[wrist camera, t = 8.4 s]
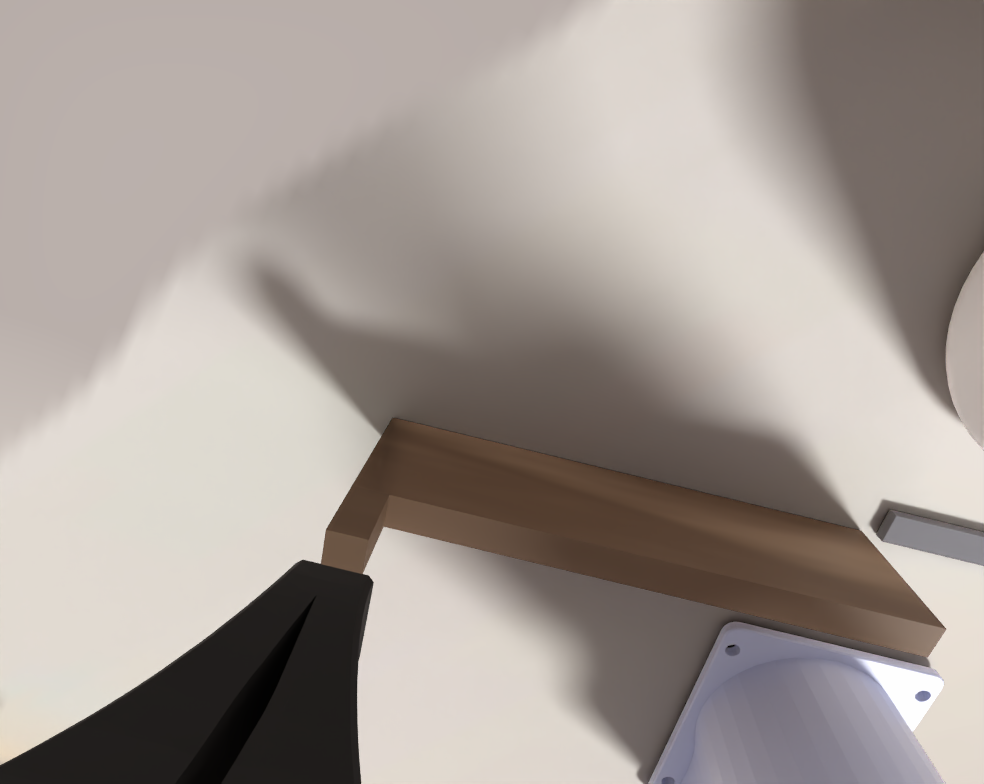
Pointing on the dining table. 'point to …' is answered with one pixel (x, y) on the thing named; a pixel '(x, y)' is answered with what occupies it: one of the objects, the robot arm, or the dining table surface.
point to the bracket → (933, 537)
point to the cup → (968, 353)
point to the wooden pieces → (627, 535)
